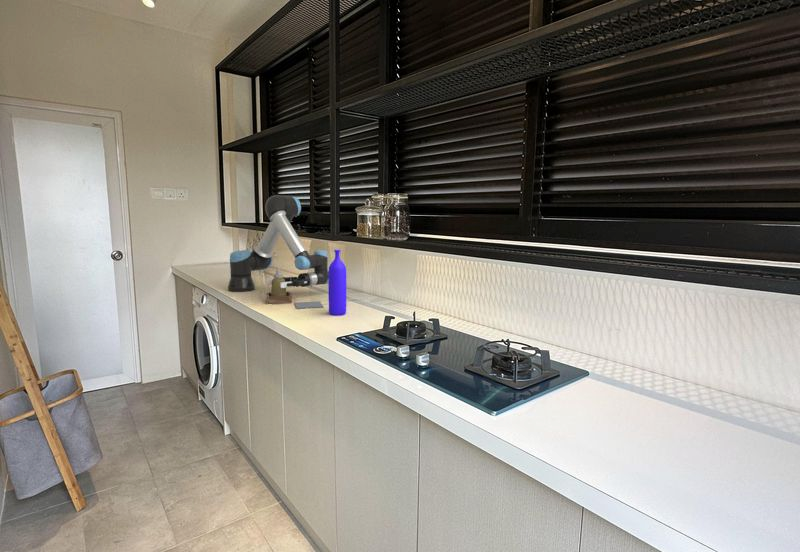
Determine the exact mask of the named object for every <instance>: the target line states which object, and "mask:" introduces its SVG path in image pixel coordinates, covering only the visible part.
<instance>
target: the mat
mask: <svg viewBox="0 0 800 552" xmlns="http://www.w3.org/2000/svg"><path fill="white" fill-rule="evenodd" d="M294 305H295V308H296V310H304V309H305V310H306V308H308V309H321V308H323V309H324V305H323V303H322V302H321V301H319V300H318V301H317V300H316V301H300V302H299V301H298V302H297V301H295V302H294Z"/></svg>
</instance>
